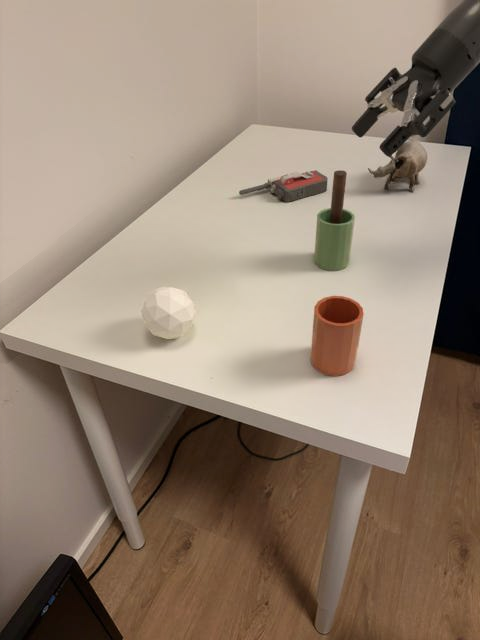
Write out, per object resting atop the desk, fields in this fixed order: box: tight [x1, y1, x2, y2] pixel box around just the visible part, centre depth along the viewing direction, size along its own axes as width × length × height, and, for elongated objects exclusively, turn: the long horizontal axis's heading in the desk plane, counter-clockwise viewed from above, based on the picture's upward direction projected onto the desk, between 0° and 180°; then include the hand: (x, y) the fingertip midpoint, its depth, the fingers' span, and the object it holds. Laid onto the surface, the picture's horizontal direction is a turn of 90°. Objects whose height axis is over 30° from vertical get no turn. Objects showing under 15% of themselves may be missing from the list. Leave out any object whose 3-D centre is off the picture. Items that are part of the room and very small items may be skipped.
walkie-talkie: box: [238, 169, 329, 203], centre depth 108 cm, size 9×4×20 cm
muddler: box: [329, 170, 348, 224], centre depth 82 cm, size 4×4×16 cm
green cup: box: [313, 207, 356, 272], centre depth 85 cm, size 6×6×9 cm
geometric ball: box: [140, 286, 197, 340], centre depth 72 cm, size 8×8×8 cm
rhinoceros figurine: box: [367, 138, 428, 193], centre depth 108 cm, size 8×14×15 cm
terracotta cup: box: [310, 295, 365, 377], centre depth 65 cm, size 6×6×9 cm
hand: (369, 142), depth 71 cm, fingers open, 8 cm apart
